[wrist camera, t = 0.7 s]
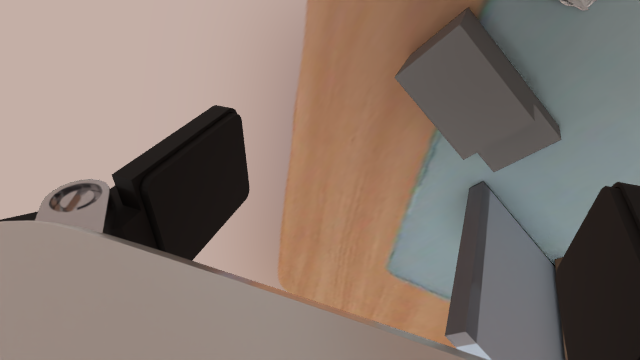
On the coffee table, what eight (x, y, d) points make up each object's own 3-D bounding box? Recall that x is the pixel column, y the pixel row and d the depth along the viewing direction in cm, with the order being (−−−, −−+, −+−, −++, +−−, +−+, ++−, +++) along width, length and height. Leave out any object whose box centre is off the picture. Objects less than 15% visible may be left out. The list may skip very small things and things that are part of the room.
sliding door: (483, 181, 38) (465, 331, 25) (572, 288, 41) (599, 474, 27) (469, 188, 39) (444, 335, 26) (556, 291, 42) (575, 473, 29)
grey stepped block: (468, 7, 31) (459, 24, 26) (558, 126, 33) (565, 160, 28) (410, 55, 35) (394, 77, 30) (494, 158, 37) (491, 193, 32)
